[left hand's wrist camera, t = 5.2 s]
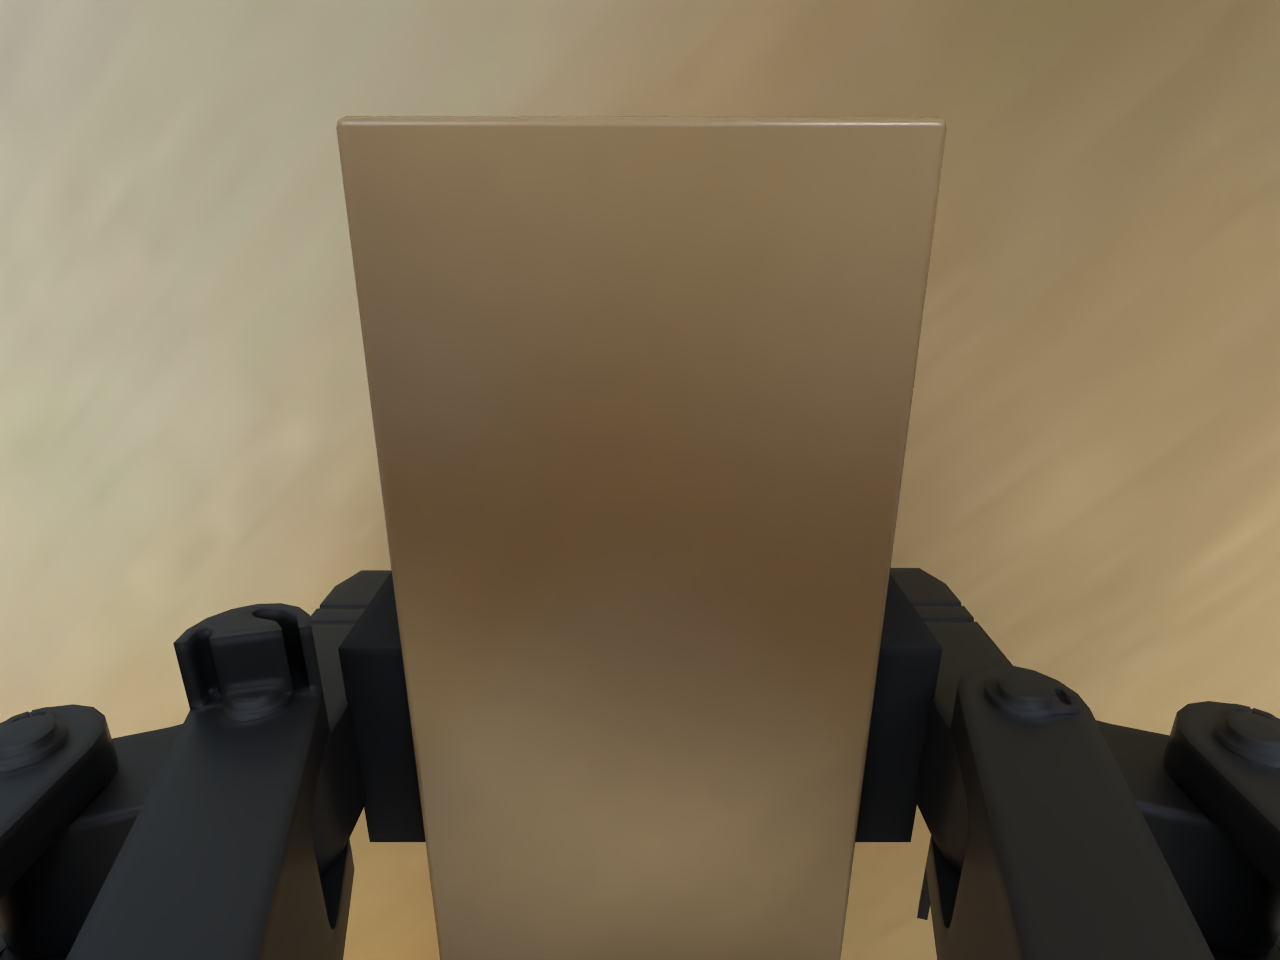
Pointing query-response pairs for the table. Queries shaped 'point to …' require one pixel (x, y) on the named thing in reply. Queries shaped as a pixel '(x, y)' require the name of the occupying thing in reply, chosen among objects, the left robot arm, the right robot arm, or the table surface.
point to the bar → (640, 508)
